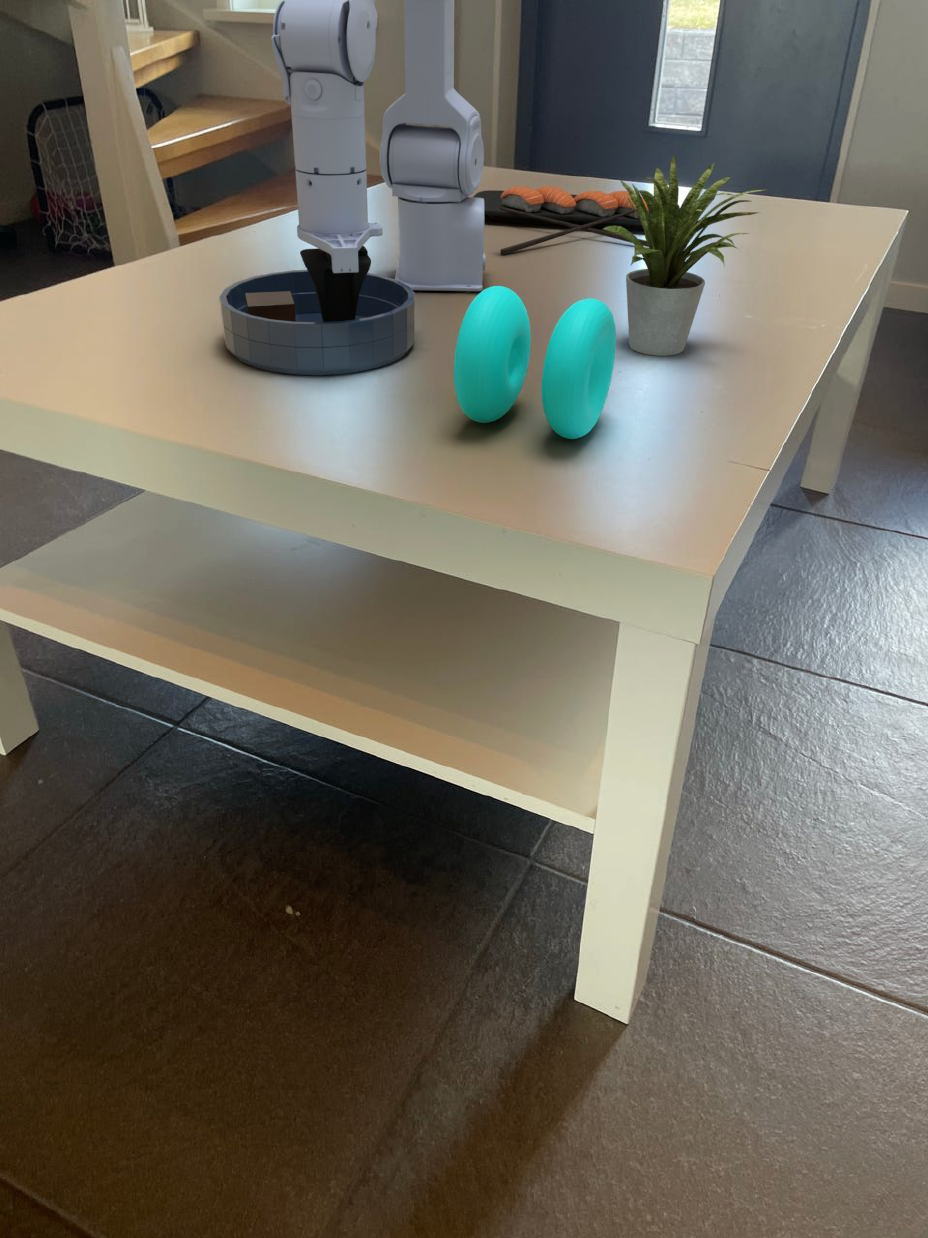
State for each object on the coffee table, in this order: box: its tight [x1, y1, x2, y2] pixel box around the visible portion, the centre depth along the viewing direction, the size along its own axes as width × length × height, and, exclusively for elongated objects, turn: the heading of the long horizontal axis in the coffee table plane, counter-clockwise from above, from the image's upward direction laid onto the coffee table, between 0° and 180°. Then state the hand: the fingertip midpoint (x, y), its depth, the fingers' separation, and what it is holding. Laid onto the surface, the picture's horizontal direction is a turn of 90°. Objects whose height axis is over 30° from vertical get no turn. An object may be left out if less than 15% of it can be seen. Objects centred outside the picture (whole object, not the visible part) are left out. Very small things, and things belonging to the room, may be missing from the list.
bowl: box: [218, 269, 416, 376], centre depth 89 cm, size 17×17×4 cm
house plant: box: [602, 154, 771, 357], centre depth 86 cm, size 14×14×16 cm
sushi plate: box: [472, 186, 681, 256], centre depth 129 cm, size 29×30×4 cm
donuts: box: [453, 285, 617, 440], centre depth 72 cm, size 10×10×10 cm
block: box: [245, 291, 296, 322], centre depth 87 cm, size 4×4×4 cm
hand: (339, 335), depth 86 cm, fingers closed
